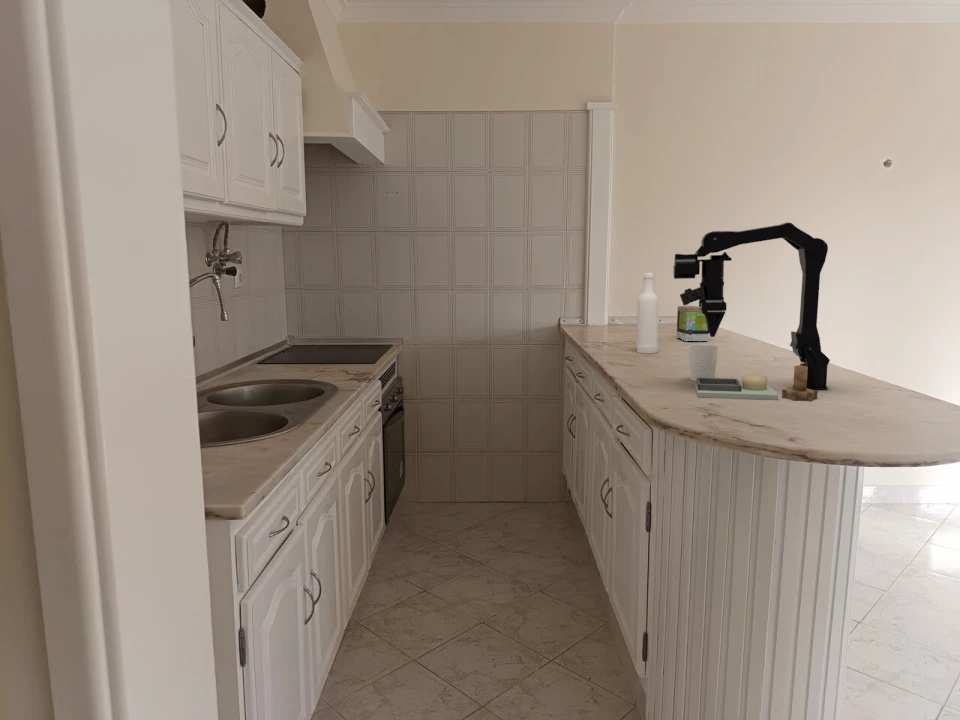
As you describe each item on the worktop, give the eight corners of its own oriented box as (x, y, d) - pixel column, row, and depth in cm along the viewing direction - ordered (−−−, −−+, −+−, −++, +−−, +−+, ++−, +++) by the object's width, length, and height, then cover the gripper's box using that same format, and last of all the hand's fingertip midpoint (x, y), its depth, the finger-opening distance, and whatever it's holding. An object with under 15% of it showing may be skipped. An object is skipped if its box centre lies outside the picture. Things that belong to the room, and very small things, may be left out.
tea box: (709, 342, 290) (710, 307, 288) (685, 342, 291) (686, 307, 289) (698, 338, 305) (699, 305, 303) (675, 338, 305) (676, 305, 303)
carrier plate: (768, 387, 186) (768, 372, 186) (778, 399, 170) (778, 383, 170) (694, 385, 191) (695, 370, 191) (697, 397, 175) (698, 380, 174)
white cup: (698, 383, 195) (699, 348, 193) (683, 378, 202) (683, 345, 201) (722, 381, 197) (723, 346, 196) (706, 377, 204) (707, 343, 203)
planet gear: (813, 395, 175) (815, 364, 173) (820, 401, 167) (821, 369, 166) (779, 394, 177) (781, 363, 175) (784, 400, 170) (786, 368, 168)
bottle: (633, 353, 260) (635, 273, 256) (639, 350, 267) (640, 272, 262) (655, 354, 256) (656, 273, 252) (660, 351, 263) (661, 272, 259)
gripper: (681, 277, 198) (680, 331, 201) (682, 279, 181) (681, 338, 183) (721, 277, 195) (720, 331, 198) (727, 278, 178) (725, 338, 180)
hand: (711, 334), depth 189 cm, fingers open, 9 cm apart
